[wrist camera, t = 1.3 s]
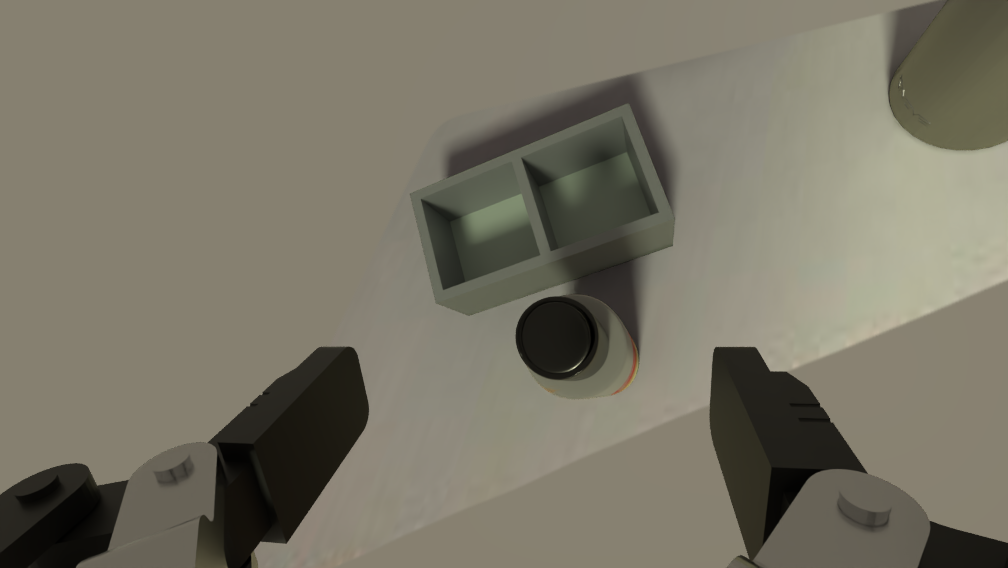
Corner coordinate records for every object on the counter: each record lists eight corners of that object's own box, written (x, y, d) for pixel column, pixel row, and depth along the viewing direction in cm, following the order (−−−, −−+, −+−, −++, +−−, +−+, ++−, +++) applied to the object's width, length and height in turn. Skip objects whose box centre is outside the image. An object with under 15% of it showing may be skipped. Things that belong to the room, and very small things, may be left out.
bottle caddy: (633, 145, 44) (628, 102, 37) (672, 245, 41) (674, 218, 34) (444, 220, 48) (409, 193, 41) (468, 315, 45) (435, 303, 39)
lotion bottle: (651, 343, 40) (642, 304, 21) (621, 409, 40) (585, 426, 21) (586, 314, 42) (526, 254, 23) (557, 376, 42) (472, 365, 23)
